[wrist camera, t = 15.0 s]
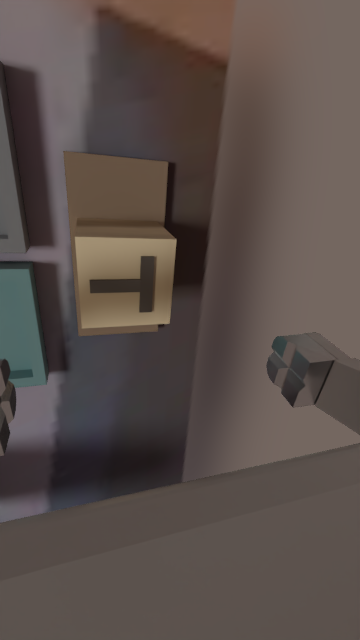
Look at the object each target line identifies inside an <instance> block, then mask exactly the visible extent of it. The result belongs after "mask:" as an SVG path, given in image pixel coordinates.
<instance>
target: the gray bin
mask: <svg viewBox="0 0 360 640" xmlns="http://www.w3.org/2000/svg"><path fill="white" fill-rule="evenodd" d="M29 247H30V242H29V235H28V228H27V222H26V215H25V208H24V201H23V195H22V188H21V181H20V174H19V168H18V161H17V154H16V148H15V141H14V134H13V127H12V121H11V114H10V107H9V100H8V94H7V87H6V80H5V73H4V67H3V63H2V62H1V61H0V253H26V252H27V251H28V249H29Z"/></svg>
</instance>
